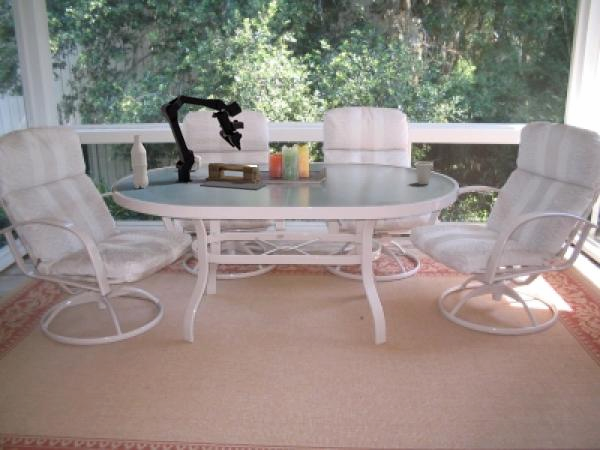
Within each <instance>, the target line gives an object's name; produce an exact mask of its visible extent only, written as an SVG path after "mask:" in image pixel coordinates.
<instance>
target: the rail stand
mask: <svg viewBox="0 0 600 450" xmlns="http://www.w3.org/2000/svg"><path fill="white" fill-rule="evenodd" d="M220 163H221V164H225V162H224V163H223V162H220ZM255 165H256V166H258V167H259V165H258V164H255ZM207 167H208V176H207V177H205V181H206V182H209V181H224V182H239V183H253V184H259V183H260V182H259V181H261V180H262V181H263V178H262V177H259V171H258V172H257V173H254V170H253V167H243V172H242V176H236V175H225V171H222V170H219V165H209V164H208V166H207ZM262 181H261V182H262ZM258 182H259V183H258Z"/></svg>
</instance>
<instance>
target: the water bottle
mask: <svg viewBox="0 0 600 450" xmlns="http://www.w3.org/2000/svg"><path fill="white" fill-rule="evenodd" d="M130 157H131V169H132V175H133V177H132V184H133V186H134V187H135V189H138V190H139V189H140V188H141V189H143V188H144V189H146V188H148V186H149V178H148V177H149V176H148V173H147V172H148V169H147V168H148V161H147V159H148V158H147V151H146V148H145V147H144V145H143V143H142V137H141V134H134V135H133V145H132V147H131V150H130Z"/></svg>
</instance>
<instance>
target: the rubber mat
mask: <svg viewBox="0 0 600 450" xmlns="http://www.w3.org/2000/svg"><path fill="white" fill-rule="evenodd" d="M266 186H267V184H264V183H263V184H262V183H257V184H253V183H239V182H224V181H206V182H203V183H202V184H200V187H206V188H207V187H209V188H210V187H211V188H221V189H234V190H237V189H238V190H250V191H251V190H252V191H258V190H260V189H262V188H264V187H266Z"/></svg>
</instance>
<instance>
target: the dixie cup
mask: <svg viewBox="0 0 600 450" xmlns="http://www.w3.org/2000/svg"><path fill="white" fill-rule="evenodd" d="M415 167H416V168H415V169H416V182H417V184H419V185H429V184H430V181H431V175H432V169H433V162H431V161H416V162H415Z"/></svg>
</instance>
